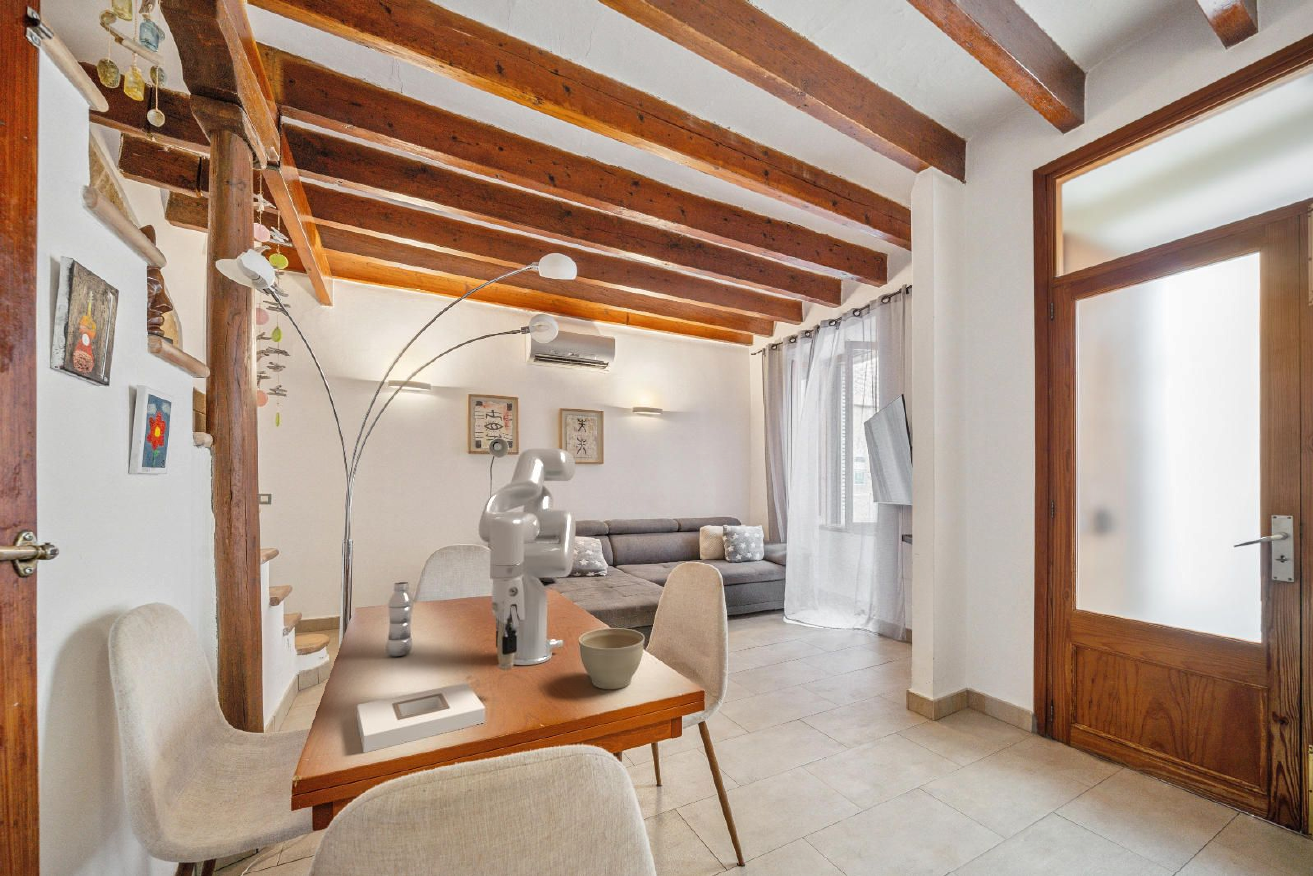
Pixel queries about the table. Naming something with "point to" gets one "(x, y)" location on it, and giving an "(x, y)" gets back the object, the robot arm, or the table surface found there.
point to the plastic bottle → (400, 621)
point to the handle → (504, 660)
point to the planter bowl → (611, 656)
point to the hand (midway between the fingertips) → (506, 649)
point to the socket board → (418, 716)
